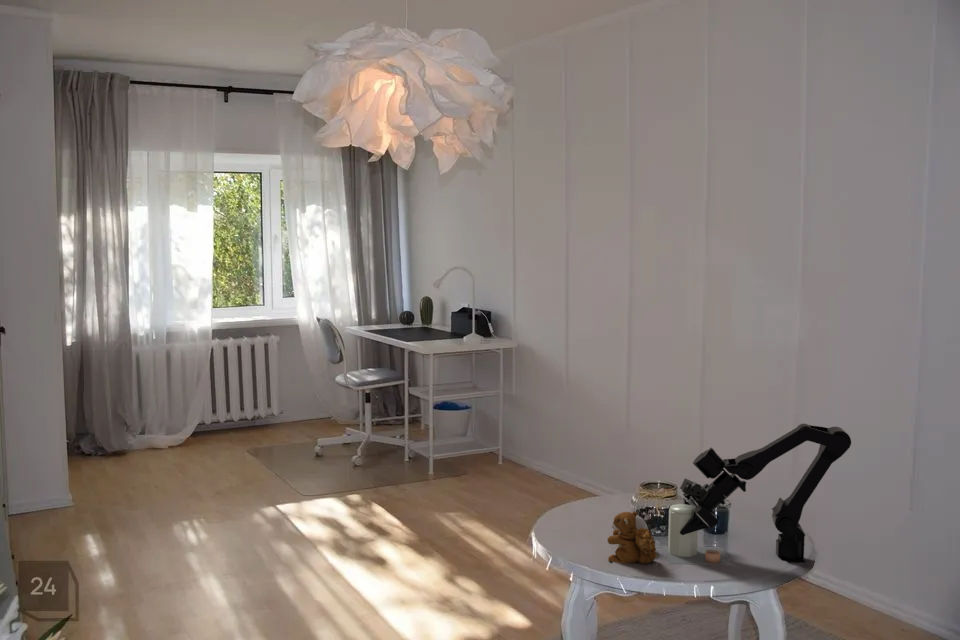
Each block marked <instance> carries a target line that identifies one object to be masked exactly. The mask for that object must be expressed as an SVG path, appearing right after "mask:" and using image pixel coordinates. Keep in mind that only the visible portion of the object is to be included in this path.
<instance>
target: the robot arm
mask: <svg viewBox="0 0 960 640" xmlns="http://www.w3.org/2000/svg"><path fill="white" fill-rule="evenodd" d="M805 442H811V443H814V444H818V445H819V447H818V451H817V453H816V456H815V457H814V459H813V460H812V462H811V464H810V465H809V466H808V468H807V469H806V471H805V472H804V474H803V475H802V477H801V479H799V482H798V483H797V485H796V486H795V487H794V489H793V491H792V492H791V494H790V495H789V496H788V497H787V498H785V499H783V498H781V497H779V498H778V500H777V502H776V504H775V505H774V507H772V508H771V511H772V513H771V518H772V522H773V524H774V526H775V529H776V530H777V531H778V532H780V533H777V534H778V535H777V538H778V539H777V538H776V539H775V555H776V556H777V557H778V558H779V559H780V560H781V561H782V562H783V561H784V562H789V563H790V562H792V563H793V562H795V563H797V562H798V563H806V561H807V560H806V558H805V539H806V538H805V537H806V533H805V531H804V529H803V528H802V525H801V524H800V523H799V522H800V520H801V517H802V513H803V510H804V507H805V505H806V504H807V502H808V500H809V499H810V497H811V496H812V495H813V493H814V491H815V490H816V488H817V487H818V485H819V483H820V482H821V481H822V479H823V478H824V476H825V475H826V473H827V471H828V470H829V468H830V467H831V466H832V464H833V463H835V462H836V461H837V460H839V459H840V458H841V457H842V456H844V455H845V454H846V452H848V450H849V449H850V447H851V445H852V440H851V436H850V435H849V433H847V432H846V431H845V430H844V429H843V428H842V427H840V426H830V427H825V426H820V425H811V424H809V423H800V424H799V425H797V427H795V428H793V429H792V430H790V431H788V432H786V433H785V434H783V435H782V436H780V437H778V438H777V439H774V440H773V441H772V442H769V443H768V444H766V445H765V446H763V447H761V448H758V449H755V450H749V451H747V452H745V453H742V454H739V455H737V456H736V457H735V458H724V459H723V458H722V457H720V455H719V454H718V453H717V451H715V450H714V448H713V447H709V449H707V450H705V451H703V452H701V453H700V454H698V456H697V457H696V458H695V459H694V460H693V462H692V464H693V466H695V467H696V469H698V471H699V472H700V473H701V474H702V475H703V476H704V477H706V479H713V481H712V482H710V484H708V483H704V484H703V486H702V485H701V483H697V482H696V481H692V480H690V479H688V478H684V479H683V482H682V483H681V485H680V488H679V489H680V490H681V492H682V493H683V494H682V495H683V497H682V500H683V503H682V504H686V505H691V506H694V507H696V508H695V511H696V513H697V514H696V513H695V512H694V511H693V510H692V517H691V518H690V520H689V521H688V522H687V523H686V524H685V526H684V527H683V528H682V529H681V531H680V534H681V535H685V534H688V533H691V532H694V531H702V530H705V529H710V528H711V529H712V530H713V529H714V528H716V527H717V526H718V522H719V519H718V518H717V516H715V510H716V509H718V507H719V506H720V505H722V506H725V504H726V502H725V501H726V500H727V499H728V498H729V497H730V496H731V495H732V494H733V493H734V492H735V491H736V490H737V489H738V488H739V489H740V490H741V491H742V492H744V493H746V492H747V489H746V488H747V487H746V485H747V481H748V480H752V479H754V478H755V477H756V476H757V475H759V474H760V473H761V472H762V471H763V470H764V469H765V468H766V467H767V466H768V465H769V464H770V463H771V462H772V461H774V460H776V459H778V458H779V457H781V456H783V455H785V454H786V453H788V452H790V451H791V450H792V451H793V449H795V448H797V447H798V446H800V445H802V444H803V443H805ZM741 479H742V480H741ZM745 480H746V481H745Z"/></svg>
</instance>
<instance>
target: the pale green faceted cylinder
mask: <svg viewBox="0 0 960 640" xmlns="http://www.w3.org/2000/svg"><path fill="white" fill-rule="evenodd" d="M695 508H696V507H694V506H691V505H686V504H683V503H677V504H672V505H670V507H669V509H668V535H667V536H668V538H667V539H668V540H667V542H668V544H667V546H668V551H669V553H670V554H673V555H676V556H679V557H691V556H694V555H696V554H697V547H698V531H699V530H698V531H694V532H691V533H688V534H685V535H681V534H680V531H681V529H682V528H683V527H684V526H685V524H686V523H687V522H688V521H689V520H690V518H691V517H692V510H693V511H694V512H695V513H696V511H695ZM696 514H697V513H696Z"/></svg>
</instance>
